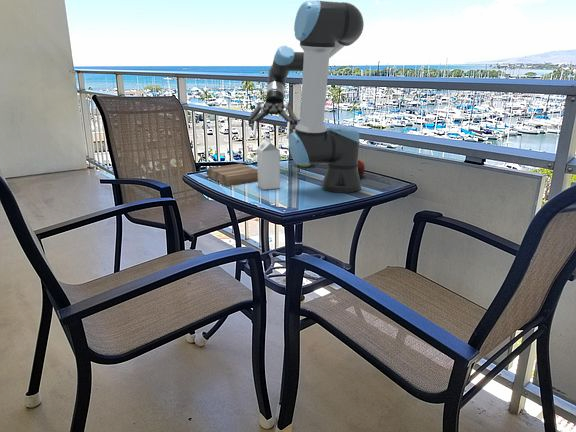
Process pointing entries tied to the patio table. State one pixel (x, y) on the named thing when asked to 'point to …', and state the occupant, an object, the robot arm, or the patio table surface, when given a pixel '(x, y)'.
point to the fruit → (361, 167)
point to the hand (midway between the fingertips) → (270, 136)
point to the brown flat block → (233, 174)
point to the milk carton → (268, 165)
